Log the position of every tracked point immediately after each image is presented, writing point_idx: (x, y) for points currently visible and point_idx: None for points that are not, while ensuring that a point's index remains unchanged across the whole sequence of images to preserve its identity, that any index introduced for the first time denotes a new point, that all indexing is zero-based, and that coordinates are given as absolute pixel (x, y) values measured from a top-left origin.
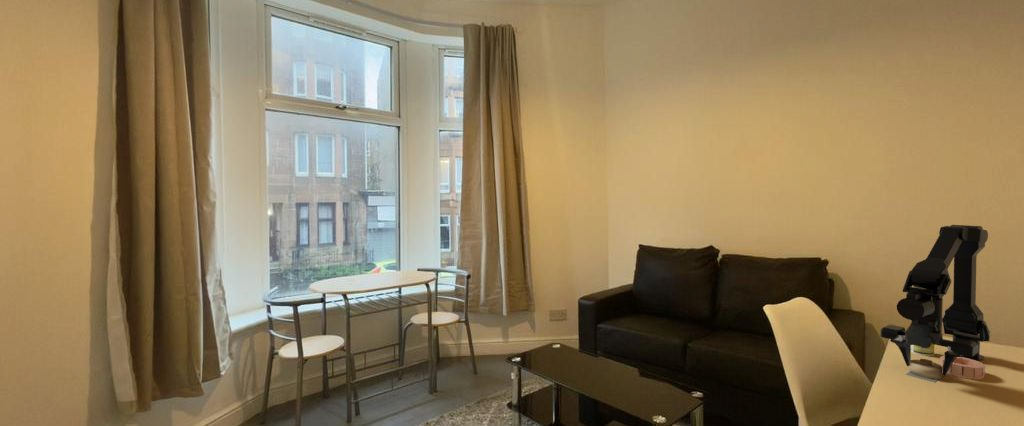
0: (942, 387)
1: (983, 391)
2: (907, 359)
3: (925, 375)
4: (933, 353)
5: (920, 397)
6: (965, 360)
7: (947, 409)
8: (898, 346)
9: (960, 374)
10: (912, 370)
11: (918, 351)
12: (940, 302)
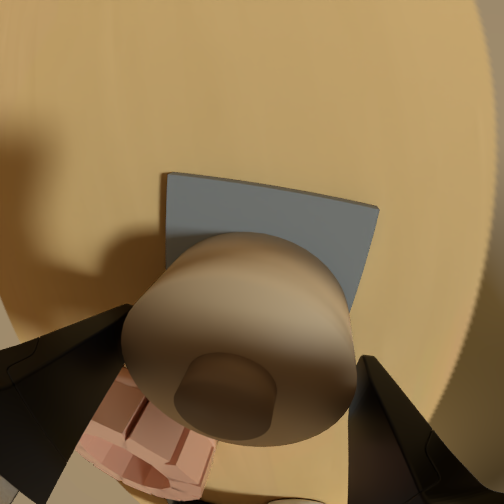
0: (127, 135)
1: (26, 248)
2: (379, 394)
3: (231, 239)
4: None
5: None
6: (132, 476)
7: None
8: (485, 490)
9: (113, 383)
10: (333, 286)
11: None
12: None
